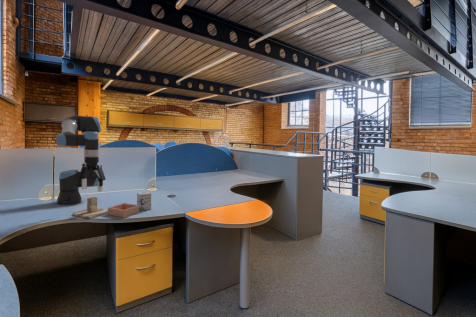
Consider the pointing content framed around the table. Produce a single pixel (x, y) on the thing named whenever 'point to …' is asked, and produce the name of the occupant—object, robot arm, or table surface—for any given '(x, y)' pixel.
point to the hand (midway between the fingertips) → (92, 190)
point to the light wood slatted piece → (91, 209)
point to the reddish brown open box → (123, 210)
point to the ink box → (144, 200)
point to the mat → (87, 218)
